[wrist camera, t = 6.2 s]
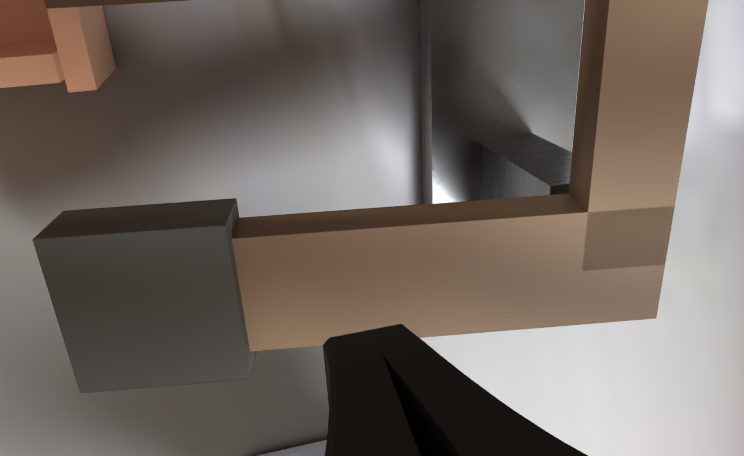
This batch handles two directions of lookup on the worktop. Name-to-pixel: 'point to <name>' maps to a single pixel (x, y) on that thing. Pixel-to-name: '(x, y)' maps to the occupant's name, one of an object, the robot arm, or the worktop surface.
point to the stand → (498, 97)
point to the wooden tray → (394, 239)
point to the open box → (54, 45)
